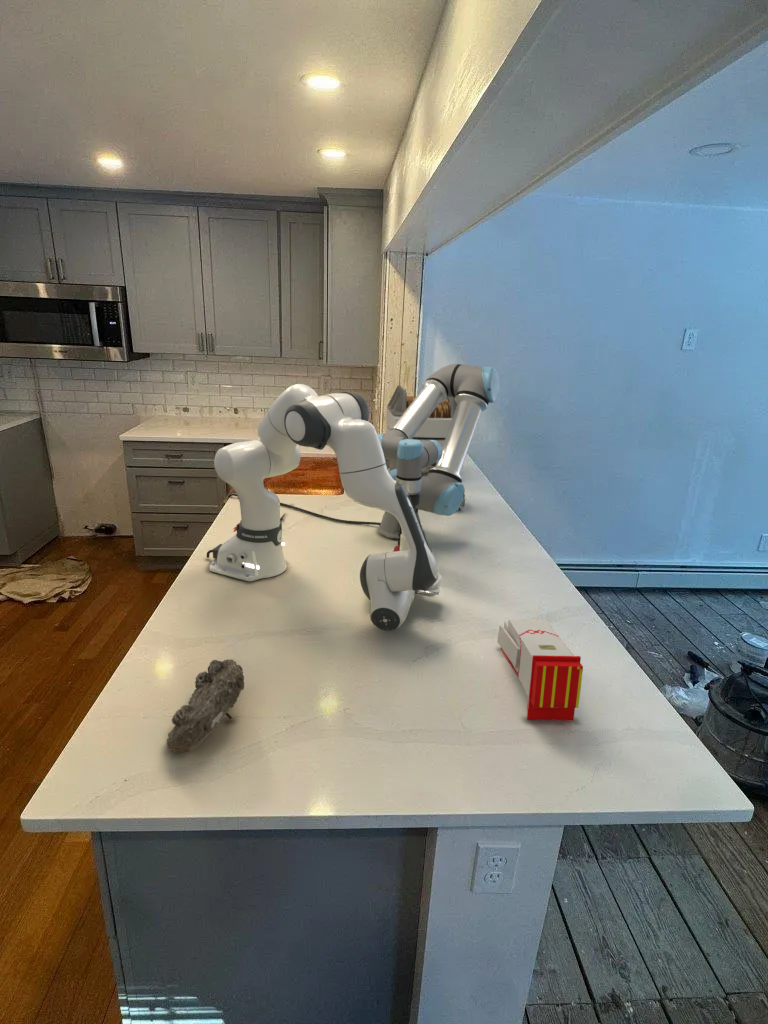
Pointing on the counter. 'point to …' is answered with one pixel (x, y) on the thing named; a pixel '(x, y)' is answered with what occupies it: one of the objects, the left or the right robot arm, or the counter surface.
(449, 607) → the counter surface
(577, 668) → the toy
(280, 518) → the feather
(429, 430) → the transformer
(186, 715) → the fossil
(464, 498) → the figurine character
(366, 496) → the left robot arm
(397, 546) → the lid
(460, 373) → the right robot arm
